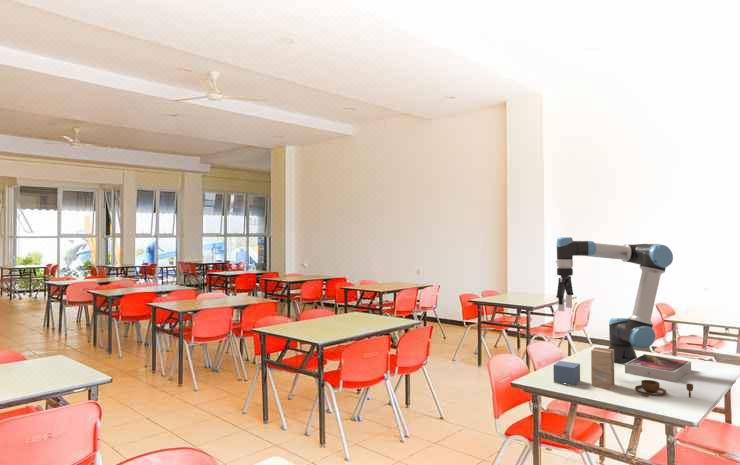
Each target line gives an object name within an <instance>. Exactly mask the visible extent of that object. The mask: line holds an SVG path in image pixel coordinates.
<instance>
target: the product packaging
mask: <svg viewBox="0 0 740 465" xmlns="http://www.w3.org/2000/svg"><path fill="white" fill-rule="evenodd" d="M690 371H691V372H692V361H691V360H684V359H678V358H672V357H664V356H659V355H651V354H645V353H643V354H642V355H639V356H637V358H636V359H634V360H632V361H630V362H628V363H626V364H624V373H625V374H628V373H630V374H629V375H633V374H634V376H640V377H645V378H651V379H658V380H661V381H666V382H673V383H675V382H677V381H678V380H679V379H680V378H683V376H686V374H688V373H690Z"/></svg>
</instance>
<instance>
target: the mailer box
mask: <svg viewBox="0 0 740 465" xmlns="http://www.w3.org/2000/svg"><path fill="white" fill-rule="evenodd" d="M590 351H591V352H590V353H591V354H590V356H591V357H590V361H591V363H590V364H591V366H590V367H591V368H590V369H591V370H590V372H591V375H590V376H591V386H593V387H598V388H605V389H610V390H611V389H612V388H613V386H614V385H615V362H614V349H608V348H607V347H598V346H595V347H594V348H592V349H591V350H590Z"/></svg>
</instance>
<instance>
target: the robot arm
mask: <svg viewBox="0 0 740 465" xmlns="http://www.w3.org/2000/svg"><path fill="white" fill-rule="evenodd" d="M575 256H576V257H577V256H579V257H589V258H590V257H592V258H601V259H612V260H621V261H622V262H623V263H624V262H625V263H630V264H636V265H639V268H640V270H641V274H640V278H639V284H638V288H637V292H636V297H635V300H634V305H633V310H632V315H631V316H629V317H618V318H617V317H616V318H615V317H613V318H609V323H608V328H609V330H608V331H609V334H608V335H609V336H608V337H609V340H608V341H609V345H608V346H609V347H608V348H607V349H614V364H615V363H616V364H624V365H625V364H626V363H628V362H630V361H632V360H634V359H636V358H638V356H637V354H636V351H635V348H639V349H647V348H649V347H652V345H653V344H654V342H655V341H656V338H657V337H656V333H655V330H654V328H653V327H654V323H653V322H652V315H653V311H654V306H655V302H656V297H657V292H658V289H659V285H660V279H661V275H662V274H664V273H665V272H666V268H668V267H669V266H670V265H672V263H673V260H674V254H673V251H672V250H671V249H670V247H668V246H667V245H664V244H660V243H637V244H636V243H635V244H627V243H626V244H623V245H618V244H608V243H599V242H598V243H597V242H594V241H593V240H573V237H570V236H569V237H568V236H567V237H558V238H556V261H555V263H556V266H557V268H556V275H557V276H560V277H559V278H558V285H557V291H556V296H555V297H556V298H557V303H558V304H557V306H558V307H557V310H558V312H565V308H566V309H567V308H568V309H572V308H573V300H572V299H573V297H572V296H574V295H575V294H574V290H573V283H572V276H573V274H574V271H573V270H574V269H573V267H574V261H573V258H574V257H575ZM565 292H566V295H565Z"/></svg>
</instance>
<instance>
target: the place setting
mask: <svg viewBox="0 0 740 465" xmlns="http://www.w3.org/2000/svg"><path fill="white" fill-rule="evenodd" d="M685 385H686V386H685V387H686V390H687V392H688V394H687V395H688V398H691V399H692V392H693V391H694V384H692V383H686V384H685ZM634 389H635V392H636V393H635V392H633V394H635V395H639V396H642V397H643V398H648V397H649V398H650V397H651V396H652V397H663V396H665V395H666V394H667V390H666V389H665V388H662V387H660V382H659V381H657V380H654V379H653V380H652V379H642V380H641V381H640V385H636V386H634ZM642 389H643V390H642ZM656 392H661V393H656Z"/></svg>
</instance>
